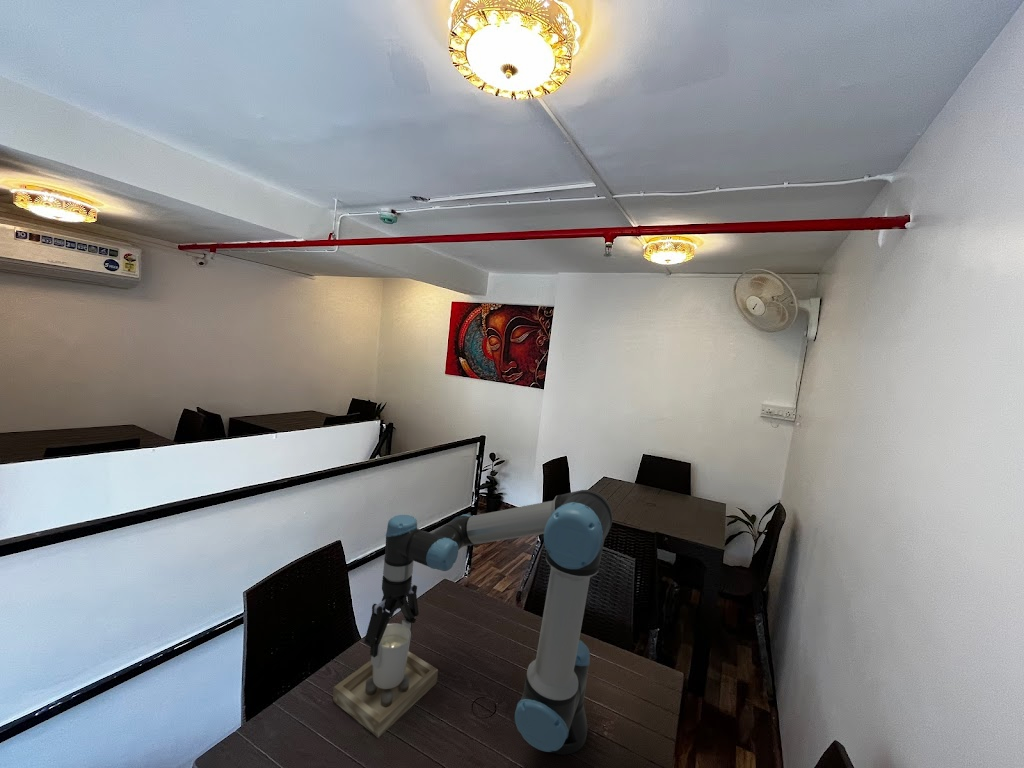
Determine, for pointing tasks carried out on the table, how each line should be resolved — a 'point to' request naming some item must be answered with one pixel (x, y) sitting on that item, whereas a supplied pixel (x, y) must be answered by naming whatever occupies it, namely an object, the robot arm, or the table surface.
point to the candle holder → (392, 656)
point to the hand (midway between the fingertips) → (390, 654)
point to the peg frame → (383, 694)
